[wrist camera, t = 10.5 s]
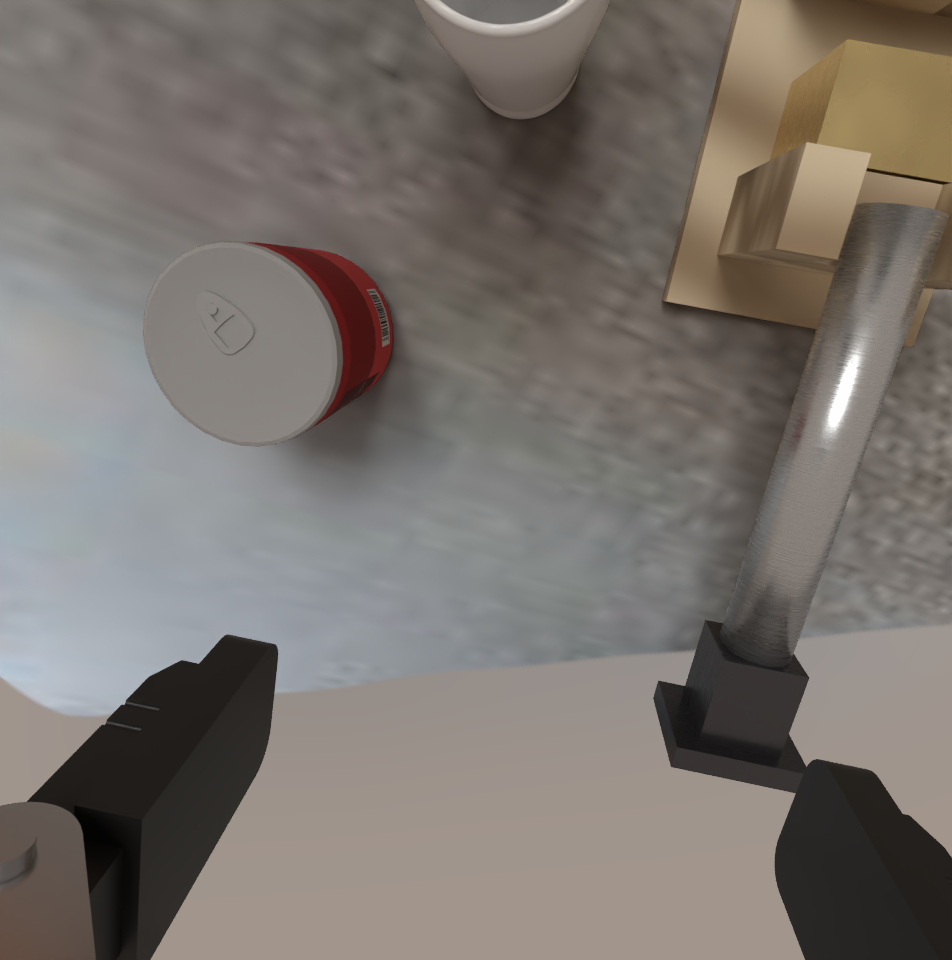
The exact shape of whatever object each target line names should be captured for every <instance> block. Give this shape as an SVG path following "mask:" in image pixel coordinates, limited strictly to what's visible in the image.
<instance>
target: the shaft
mask: <svg viewBox="0 0 952 960" xmlns="http://www.w3.org/2000/svg"><path fill="white" fill-rule="evenodd" d="M948 218H949V215H948V214H946V213H944V212H941V211H938V210H934V209H930V208H924V207H919V206H912V205H904V204H894V203H860V204H857V205H856V206H855V209H854V212H853V215H852V218H851V222H850V225H849V228H848V231H847V234H846V237H845V241H844V244H843V247H842V250H841V253H840V256H839V259H838V263H837V266H836V269H835V272H834V275H833V278H832V282H831V285H830V288H829V291H828V294H827V297H826V300H825V304H824V307H823V310H822V313H821V316H820V319H819V322H818V326H817V329H816V332H815V335H814V338H813V341H812V345H811V348H810V351H809V354H808V357H807V360H806V363H805V367H804V370H803V373H802V376H801V379H800V382H799V386H798V389H797V392H796V395H795V398H794V401H793V404H792V408H791V411H790V414H789V417H788V420H787V423H786V427H785V430H784V433H783V436H782V439H781V442H780V445H779V449H778V452H777V455H776V458H775V461H774V464H773V467H772V471H771V474H770V477H769V480H768V483H767V486H766V490H765V493H764V496H763V499H762V502H761V505H760V508H759V512H758V515H757V518H756V521H755V524H754V527H753V531H752V534H751V537H750V540H749V543H748V546H747V549H746V553H745V556H744V559H743V562H742V565H741V568H740V572H739V575H738V578H737V581H736V584H735V587H734V590H733V594H732V597H731V600H730V603H729V606H728V609H727V612H726V616H725V619H724V622H723V624H722V623H717V622H712V621H707V620H705V623H704V627H703V630H702V633H701V636H700V640H699V643H698V646H697V649H696V653H695V656H694V659H693V662H692V666H691V669H690V672H689V675H688V679H687V682H686V686H681V685H676V684H672V683H667V682H662V681H658V684H657V688H656V691H655V694H654V703H655V707H656V710H657V714H658V718H659V722H660V726H661V730H662V734H663V737H664V741H665V745H666V749H667V753H668V757H669V761H670V764H671V767H674V768H679V769H684V770H688V771H693V772H698V773H703V774H707V775H712V776H717V777H722V778H727V779H731V780H736V781H741V782H746V783H750V784H755V785H760V786H764V787H769V788H774V789H779V790H784V791H788V792H793V793H796V792H797V789H798V787H799V784H800V782H801V779H802V776H803V774H804V771H805V769H806V765H805V764H804V762H803V760H802V758H801V756H800V754H799V752H798V751H797V749H796V747H795V745H794V743H793V741H792V740H791V737H790V736H789V732H790V729H791V726H792V723H793V721H794V718H795V715H796V713H797V710H798V707H799V704H800V702H801V699H802V696H803V694H804V691H805V688H806V685H807V682H808V680H809V677H808V675H807V674H806V672H805V671H804V669H803V668H802V666H801V664H800V663H799V661H798V660H797V658H796V657H795V655H794V654H793V653H794V650H795V647H796V644H797V642H798V639H799V636H800V633H801V631H802V628H803V625H804V622H805V619H806V617H807V614H808V611H809V608H810V605H811V602H812V600H813V597H814V594H815V591H816V588H817V586H818V583H819V580H820V577H821V574H822V572H823V569H824V566H825V563H826V560H827V558H828V555H829V552H830V549H831V546H832V544H833V541H834V538H835V535H836V532H837V529H838V527H839V524H840V521H841V518H842V515H843V513H844V510H845V507H846V504H847V501H848V499H849V496H850V493H851V490H852V487H853V485H854V482H855V479H856V476H857V473H858V471H859V468H860V465H861V462H862V459H863V457H864V454H865V451H866V448H867V445H868V442H869V440H870V437H871V434H872V431H873V428H874V426H875V423H876V420H877V417H878V414H879V412H880V409H881V406H882V403H883V400H884V398H885V395H886V392H887V389H888V386H889V384H890V381H891V378H892V375H893V372H894V370H895V367H896V364H897V361H898V358H899V355H900V353H901V350H902V347H903V344H904V341H905V339H906V336H907V333H908V330H909V327H910V325H911V322H912V319H913V316H914V313H915V311H916V308H917V305H918V302H919V299H920V297H921V294H922V291H923V288H924V285H925V282H926V280H927V277H928V274H929V271H930V268H931V266H932V263H933V260H934V257H935V254H936V252H937V249H938V246H939V243H940V240H941V238H942V235H943V232H944V229H945V226H946V224H947V221H948Z"/></svg>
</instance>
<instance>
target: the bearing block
mask: <svg viewBox="0 0 952 960" xmlns="http://www.w3.org/2000/svg"><path fill="white" fill-rule="evenodd" d="M847 39H850V40H856V41H862V42H868V43H874V44H879V45H885V46H891V47H897V48H903V49H909V50H915V51H921V52H927V53H933V54H938V55H944V56H950V57H952V0H737V2H736V6H735V10H734V14H733V18H732V22H731V26H730V30H729V34H728V38H727V42H726V46H725V50H724V55H723V59H722V63H721V67H720V71H719V75H718V79H717V83H716V87H715V91H714V95H713V99H712V103H711V107H710V111H709V115H708V119H707V123H706V127H705V131H704V135H703V139H702V143H701V147H700V151H699V155H698V159H697V163H696V167H695V171H694V175H693V179H692V183H691V187H690V191H689V195H688V199H687V203H686V207H685V211H684V215H683V219H682V223H681V227H680V231H679V235H678V239H677V243H676V247H675V251H674V255H673V259H672V263H671V267H670V271H669V275H668V279H667V283H666V287H665V291H664V295H663V299H662V301H667V302H672V303H677V304H683V305H688V306H694V307H699V308H704V309H710V310H715V311H721V312H726V313H731V314H737V315H742V316H748V317H753V318H758V319H764V320H769V321H774V322H780V323H785V324H791V325H796V326H801V327H807V328H812V329H817V326H818V322H819V319H820V316H821V313H822V310H823V307H824V304H825V300H826V297H827V294H828V291H829V288H830V285H831V282H832V278H833V275H834V272H835V269H836V266H837V263H838V259H839V256H840V253H841V250H842V247H843V244H844V241H845V237H846V234H847V231H848V228H849V225H850V222H851V218H852V215H853V212H854V209H855V206H856V205H857V204H860V203H894V204H904V205H912V206H919V207H924V208H930V209H934V210H938V211H941V212H944V213H946V214H948V215H949V218H948V221H947V224H946V226H945V229H944V232H943V235H942V238H941V240H940V243H939V246H938V249H937V252H936V254H935V257H934V260H933V263H932V266H931V268H930V271H929V274H928V277H927V280H926V282H925V285H924V288H923V291H922V294H921V297H920V299H919V302H918V305H917V308H916V311H915V313H914V316H913V319H912V322H911V325H910V327H909V330H908V333H907V336H906V339H905V341H904V344H903V345H904V346H909V347H913V346H914V343H915V341H916V338H917V335H918V332H919V330H920V327H921V324H922V321H923V318H924V316H925V313H926V310H927V307H928V305H929V302H930V299H931V296H932V294H933V291H934V289H950V290H952V183H949V184H945V185H941V184H936V183H930V182H924V181H919V180H913V179H907V178H902V177H896V176H890V175H885V174H879V173H873V172H868V171H866V169H867V166H868V163H869V160H870V156H871V153H866V152H860V151H855V150H849V149H843V148H837V147H832V146H826V145H820V144H815V143H809V142H806V143H804V144H802V145H800V146H798V147H796V148H794V149H792V150H790V151H788V152H786V153H784V154H782V155H780V156H778V157H776V158H774V159H772V160H770V158H771V154H772V150H773V147H774V143H775V140H776V136H777V132H778V129H779V125H780V122H781V118H782V114H783V111H784V107H785V104H786V100H787V96H788V93H789V89H790V86H791V83H792V82H793V81H794V80H795V79H797V78H798V77H799V76H801V75H802V74H803V73H804V72H806V71H807V70H808V69H810V68H811V67H812V66H814V65H815V64H816V63H817V62H819V61H820V60H821V59H823V58H824V57H825V56H826V55H828V54H829V53H830V52H832V51H833V50H834V49H836V48H837V47H838V46H839V45H841V44H842V43H843V42H845V41H846V40H847Z"/></svg>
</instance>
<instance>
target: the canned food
mask: <svg viewBox="0 0 952 960" xmlns="http://www.w3.org/2000/svg"><path fill="white" fill-rule="evenodd" d="M143 335H144V342H145V350H146V355H147V358H148V361H149V364H150V367H151V370H152V373H153V375H154V377H155V379H156V381H157V383H158V385H159V387H160V389H161V391H162V392H163V393H164V395H165V396H166V397H167V399H168V400H169V401H170V403H171V404H172V405H173V407H174V408H175V409H176V410H177V411H178V412H179V413H180V414H181V415H182V416H183V417H185V418H186V419H187V420H188V421H189V422H190V423H192V424H193V425H195V426H196V427H197V428H199V429H200V430H202V431H203V432H205V433H207V434H209V435H211V436H213V437H216V438H218V439H220V440H222V441H226V442H230V443H233V444H237V445H244V446H265V445H272V444H277V443H280V442H284V441H287V440H289V439H292V438H295V437H297V436H299V435H301V434H302V433H304V432H306V431H308V430H309V429H311V428H312V427H314V426H316V425H317V424H319V423H320V422H322V421H323V420H325V419H326V418H328V417H329V416H330V415H332V414H333V413H335V412H336V411H338V410H339V409H341V408H342V407H344V406H345V405H347V404H348V403H349V402H351V401H352V400H354V399H355V398H357V397H358V396H360V395H361V394H363V393H364V392H366V391H367V390H368V389H370V388H371V387H372V386H373V385H374V384H375V382H376V381H377V380H378V379H379V378H380V376H381V375H382V373H383V371H384V370H385V368H386V366H387V363H388V360H389V358H390V355H391V349H392V343H393V329H392V321H391V317H390V312H389V309H388V307H387V304H386V302H385V299H384V297H383V295H382V293H381V292H380V290H379V289H378V287H377V286H376V284H375V283H374V281H373V280H372V279H371V278H370V277H369V276H368V275H367V274H366V273H365V272H364V271H363V270H362V269H361V268H359V267H358V266H357V265H355V264H354V263H352V262H351V261H349V260H347V259H345V258H343V257H341V256H339V255H337V254H333V253H329V252H325V251H321V250H313V249H305V248H296V247H288V246H280V245H272V244H263V243H252V242H232V241H224V242H219V243H213V244H208V245H202V246H199V247H197V248H194V249H192V250H190V251H188V252H185V253H183V254H182V255H181V256H179V257H178V258H177V259H175V260H174V261H173V262H171V263H170V264H169V265H168V266H167V267H166V269H165V270H164V271H163V272H162V273H161V275H160V276H159V277H158V278H157V280H156V282H155V284H154V286H153V288H152V290H151V292H150V294H149V297H148V301H147V305H146V309H145V313H144V329H143Z"/></svg>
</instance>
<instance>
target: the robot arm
mask: <svg viewBox="0 0 952 960" xmlns="http://www.w3.org/2000/svg"><path fill="white" fill-rule="evenodd" d="M277 662H278V649H277V646H276V645H275V644H271V643H266V642H261V641H257V640H252V639H247V638H242V637H237V636H233V635H225V636H224V637H223V638H222V639H221V640H220V641H219V642H218V643H217V644H216V645H215V646H214V648H213V649H212V650H211V651H210V652H209V653H208V654H207V656H206V657H205V658H204V659H203V660H202V661H201V662H200V663H199V664H197V663H192V662H187V661H183V660H181V661H179V662H177V663H175V664H173V665H171V666H169V667H168V668H166V669H164V670H162V671H160V672H158V673H156V674H154V675H152V676H150V677H148V678H147V679H146V680H145V681H144V682H143V683H142V684H141V686H140V687H139V688H138V689H137V690H136V691H135V692H134V693H133V694H132V695H131V696H130V697H129V698H128V699H127V700H126V703H125V705H121V706H120V707H119V708H118V709H117V710H116V711H115V712H114V713H113V714H112V715H111V716H110V717H109V718H108V719H107V722H106V724H105V725H101V727H99V729H97V731H96V732H94V734H93V735H92V736H91V737H90V738H89V739H88V740H87V741H86V742H85V743H84V744H83V745H82V746H81V747H80V748H79V749H78V750H77V751H76V752H75V753H74V754H73V755H72V756H71V757H70V758H69V759H68V760H67V761H66V762H65V763H64V764H63V765H62V766H61V767H60V768H59V769H58V770H57V771H56V772H55V773H54V774H53V775H52V776H51V777H50V778H49V779H48V781H46V782H45V784H44V785H43V786H42V787H41V788H40V789H39V790H38V791H37V792H36V793H35V794H34V795H33V796H32V797H31V798H30V799H29V800H28V801H27V802H21V803H13V804H7V805H2V806H0V960H150V959H151V957H152V956H153V954H154V952H155V951H156V949H157V947H158V945H159V944H160V942H161V940H162V938H163V936H164V935H165V933H166V931H167V929H168V928H169V926H170V924H171V923H172V921H173V919H174V917H175V916H176V914H177V912H178V910H179V909H180V907H181V905H182V903H183V902H184V900H185V898H186V896H187V895H188V893H189V891H190V890H191V888H192V886H193V884H194V883H195V881H196V879H197V877H198V875H199V874H200V872H201V870H202V868H203V867H204V865H205V863H206V862H207V860H208V858H209V856H210V854H211V853H212V851H213V849H214V848H215V846H216V844H217V842H218V841H219V839H220V837H221V835H222V834H223V832H224V830H225V828H226V827H227V824H228V823H229V822H230V820H231V818H232V816H233V814H234V813H235V811H236V809H237V808H238V806H239V804H240V802H241V800H242V799H243V797H244V795H245V794H246V792H247V790H248V788H249V786H250V785H251V783H252V781H253V780H254V778H255V776H256V774H257V772H258V770H259V768H260V765H261V763H262V760H263V758H264V755H265V752H266V748H267V744H268V740H269V735H270V728H271V719H272V710H273V709H272V708H273V700H274V691H275V681H276V671H277ZM775 876H776V881H777V886H778V889H779V892H780V895H781V898H782V900H783V903H784V905H785V908H786V911H787V913H788V916H789V919H790V921H791V924H792V926H793V929H794V932H795V934H796V937H797V940H798V942H799V945H800V947H801V950H802V953H803V955H804V958H805V960H952V858H951V856H950V855H949V854H948V852H947V851H946V849H945V848H944V847H943V846H942V845H941V844H940V843H939V842H938V841H936V839H934V838H933V837H932V836H931V835H930V834H929V833H928V832H927V831H926V830H924V829H923V828H922V827H921V826H920V825H919V824H918V823H917V822H916V821H915V820H914V819H913V818H912V817H910V816H909V815H905V814H902V813H901V811H900V809H899V808H898V806H897V805H896V803H895V802H894V800H893V799H892V797H891V796H890V794H889V793H888V791H887V790H886V788H885V787H884V785H883V784H882V782H881V781H880V780H879V778H878V777H877V775H876V774H875V773H873V772H872V771H870V770H867V769H862V768H857V767H853V766H847V765H843V764H838V763H833V762H828V761H824V760H819V759H816V760H813V761H811V762H810V763H809V764H808V766H807V767H806V769H805V771H804V774H803V776H802V779H801V782H800V784H799V787H798V789H797V792H796V795H795V797H794V800H793V803H792V805H791V808H790V810H789V813H788V816H787V818H786V821H785V823H784V826H783V829H782V831H781V834H780V836H779V839H778V842H777V846H776V852H775Z"/></svg>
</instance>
